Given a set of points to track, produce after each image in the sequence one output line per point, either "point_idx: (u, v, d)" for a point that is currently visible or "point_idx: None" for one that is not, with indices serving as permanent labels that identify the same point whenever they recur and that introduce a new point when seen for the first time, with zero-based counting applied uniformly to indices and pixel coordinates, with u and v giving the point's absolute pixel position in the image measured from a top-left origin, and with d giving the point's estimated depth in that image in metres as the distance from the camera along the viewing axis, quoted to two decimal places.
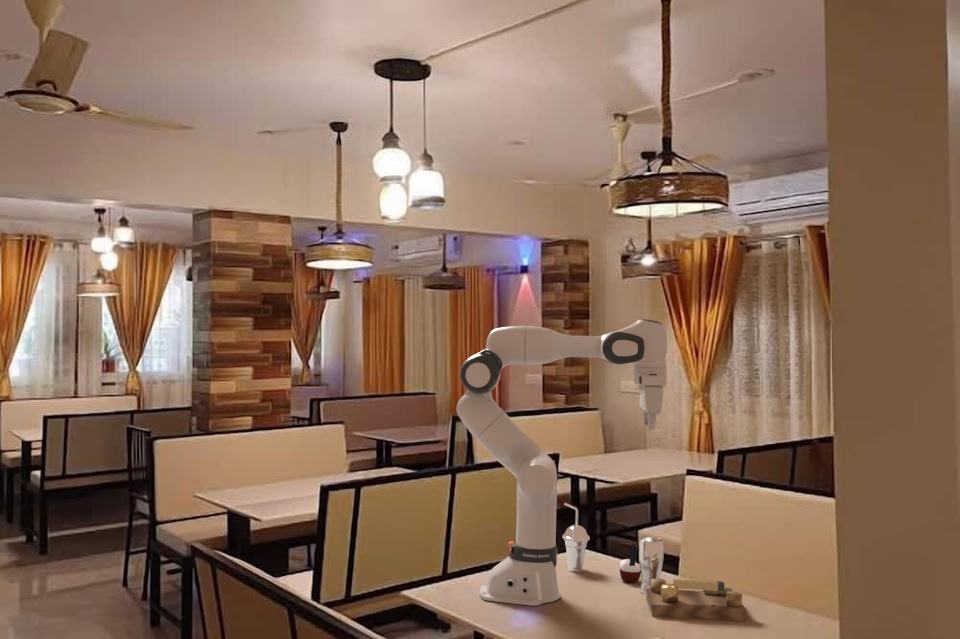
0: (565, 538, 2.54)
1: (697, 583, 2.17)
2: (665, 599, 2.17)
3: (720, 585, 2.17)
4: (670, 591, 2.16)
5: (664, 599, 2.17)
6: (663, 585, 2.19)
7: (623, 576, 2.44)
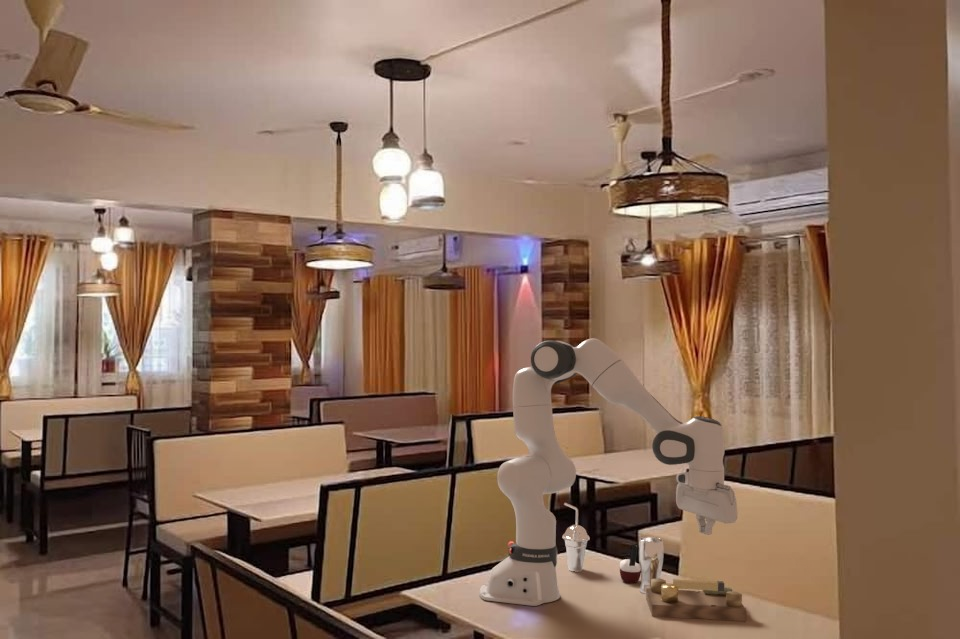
0: (565, 538, 2.54)
1: (697, 583, 2.17)
2: (665, 599, 2.17)
3: (720, 585, 2.17)
4: (670, 591, 2.16)
5: (664, 599, 2.17)
6: (663, 585, 2.19)
7: (623, 576, 2.44)
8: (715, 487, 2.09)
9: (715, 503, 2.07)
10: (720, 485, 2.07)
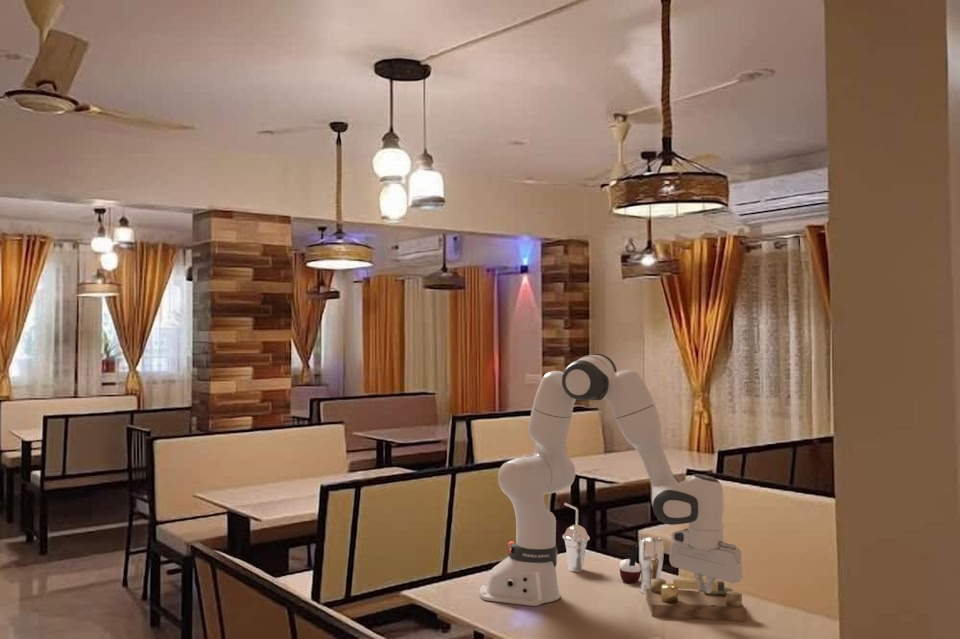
0: (565, 538, 2.54)
1: None
2: (665, 599, 2.17)
3: (720, 585, 2.17)
4: (670, 591, 2.16)
5: (664, 599, 2.17)
6: (663, 585, 2.19)
7: (623, 576, 2.44)
8: (718, 546, 2.09)
9: (719, 562, 2.07)
10: (724, 544, 2.08)
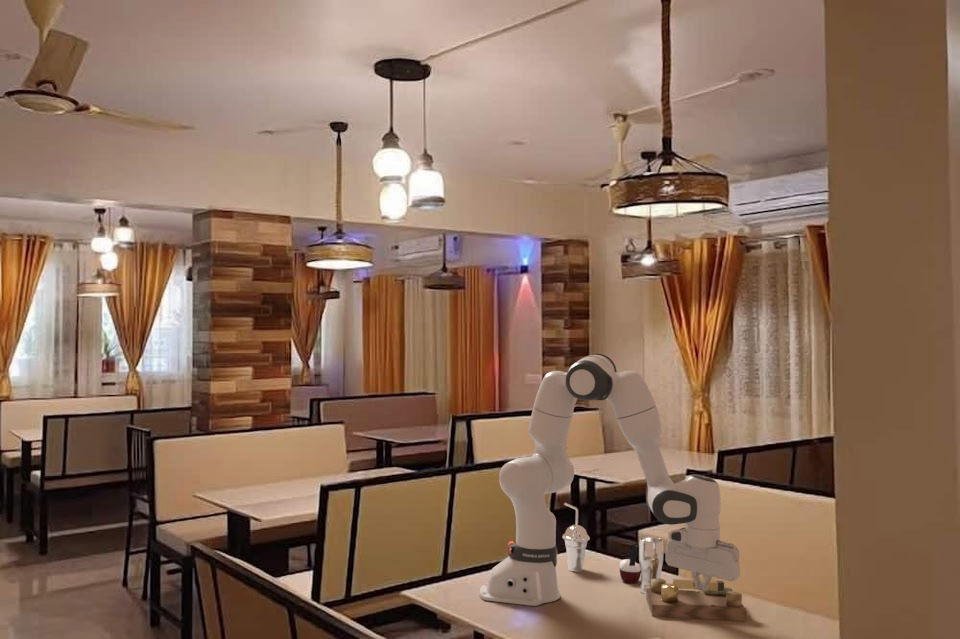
0: (565, 538, 2.54)
1: None
2: (665, 599, 2.17)
3: (720, 585, 2.17)
4: (671, 591, 2.16)
5: (664, 599, 2.17)
6: (663, 585, 2.19)
7: (623, 576, 2.44)
8: (716, 545, 2.13)
9: (717, 560, 2.11)
10: (722, 543, 2.12)
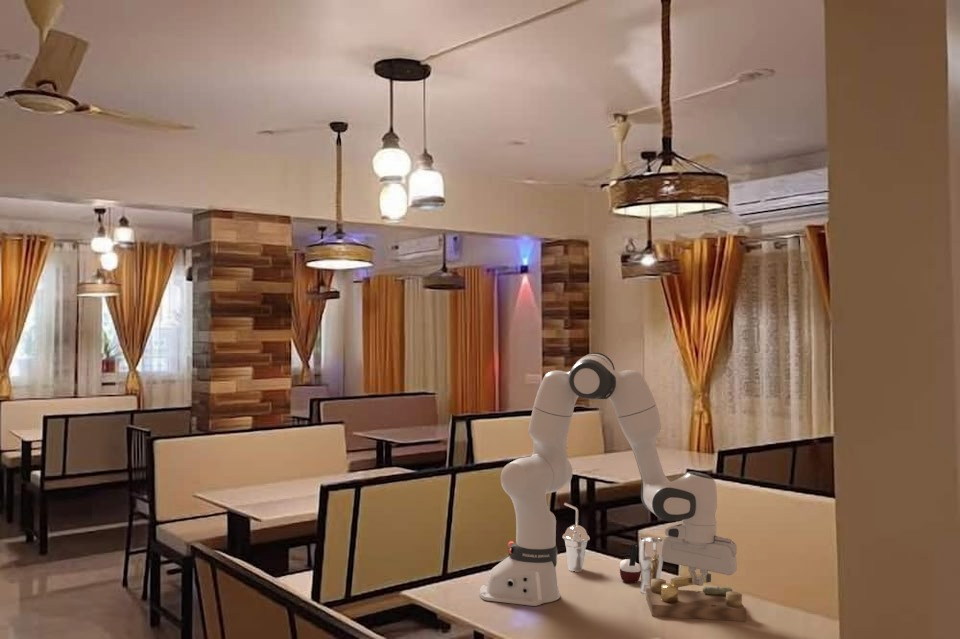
0: (565, 538, 2.54)
1: (691, 578, 2.21)
2: (670, 600, 2.16)
3: (708, 577, 2.24)
4: (675, 591, 2.17)
5: (669, 600, 2.17)
6: (664, 586, 2.18)
7: (623, 576, 2.44)
8: (713, 540, 2.17)
9: (715, 556, 2.16)
10: (719, 538, 2.17)
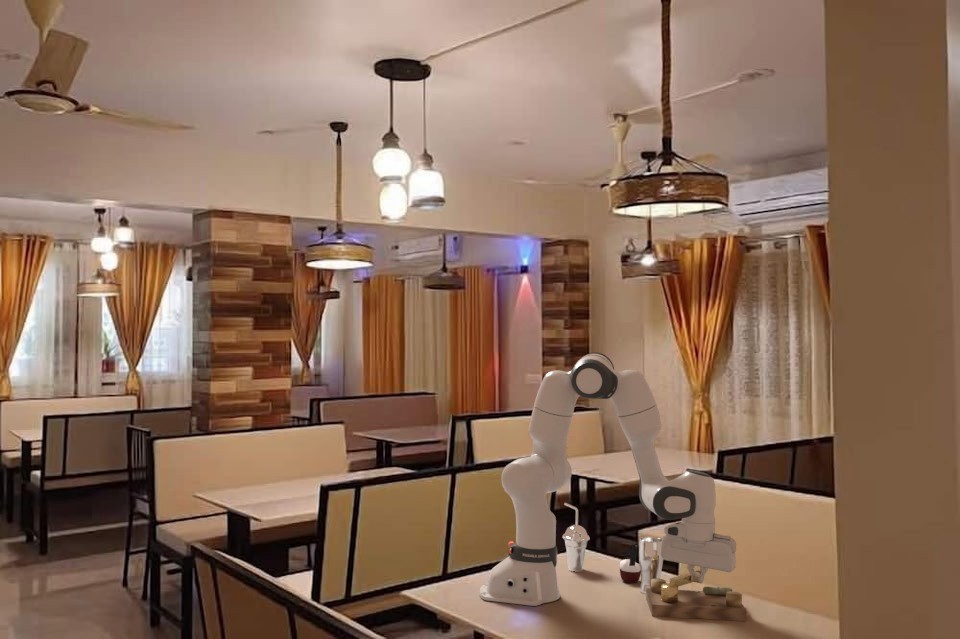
0: (565, 538, 2.54)
1: (688, 577, 2.23)
2: (671, 600, 2.16)
3: None
4: (676, 591, 2.17)
5: (670, 600, 2.16)
6: (665, 586, 2.18)
7: (623, 576, 2.44)
8: (712, 538, 2.20)
9: (715, 553, 2.18)
10: (719, 536, 2.19)
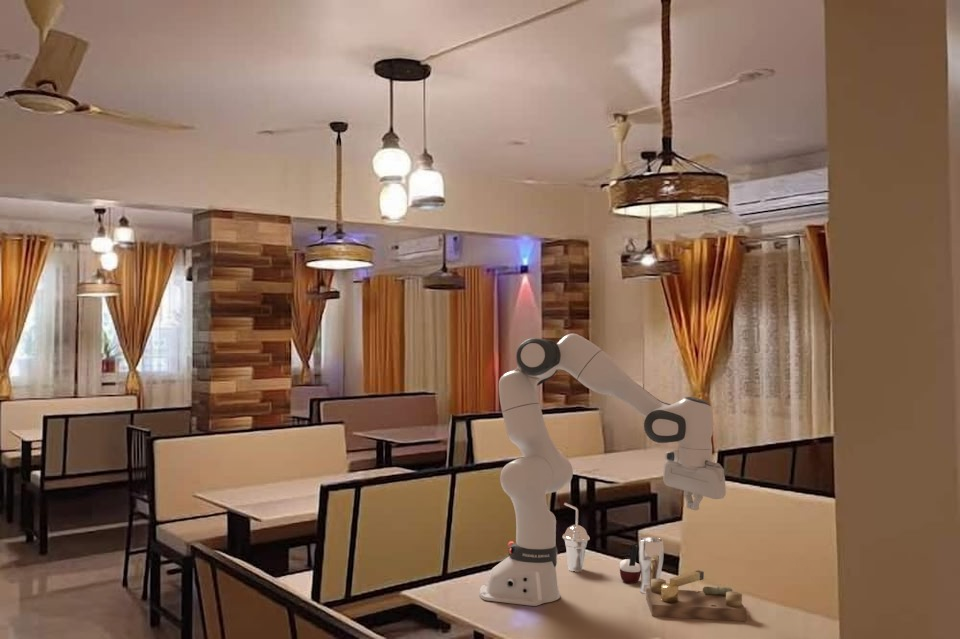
0: (565, 538, 2.54)
1: (688, 577, 2.23)
2: (671, 600, 2.16)
3: (701, 574, 2.26)
4: (676, 591, 2.17)
5: (670, 600, 2.16)
6: (665, 586, 2.18)
7: (623, 576, 2.44)
8: (704, 464, 2.18)
9: (704, 479, 2.17)
10: (709, 463, 2.17)
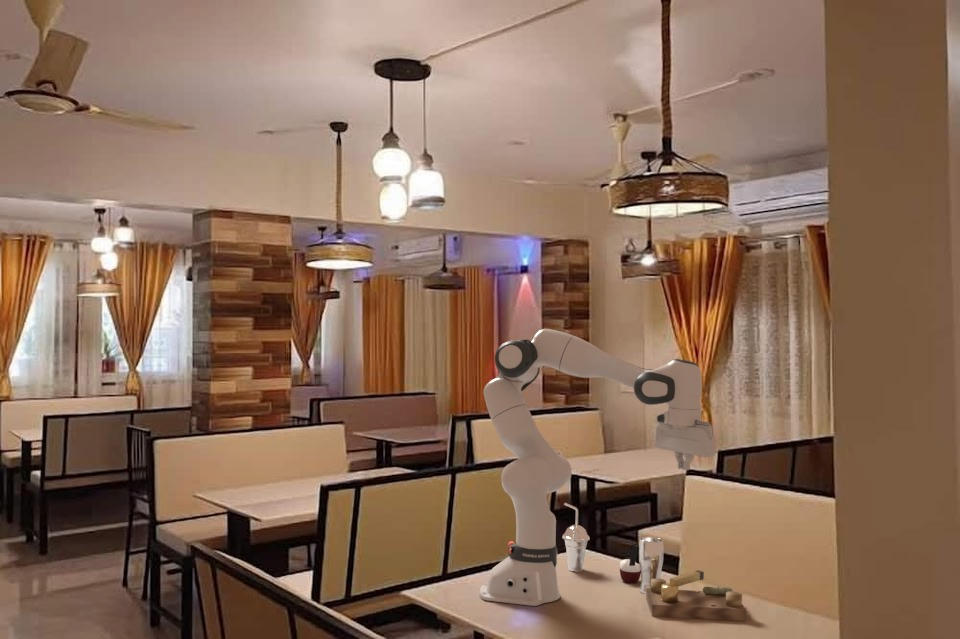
0: (565, 538, 2.54)
1: (688, 577, 2.23)
2: (671, 600, 2.16)
3: (701, 574, 2.26)
4: (676, 591, 2.17)
5: (670, 600, 2.16)
6: (665, 586, 2.18)
7: (623, 576, 2.44)
8: (694, 424, 2.21)
9: (694, 438, 2.20)
10: (699, 422, 2.20)
